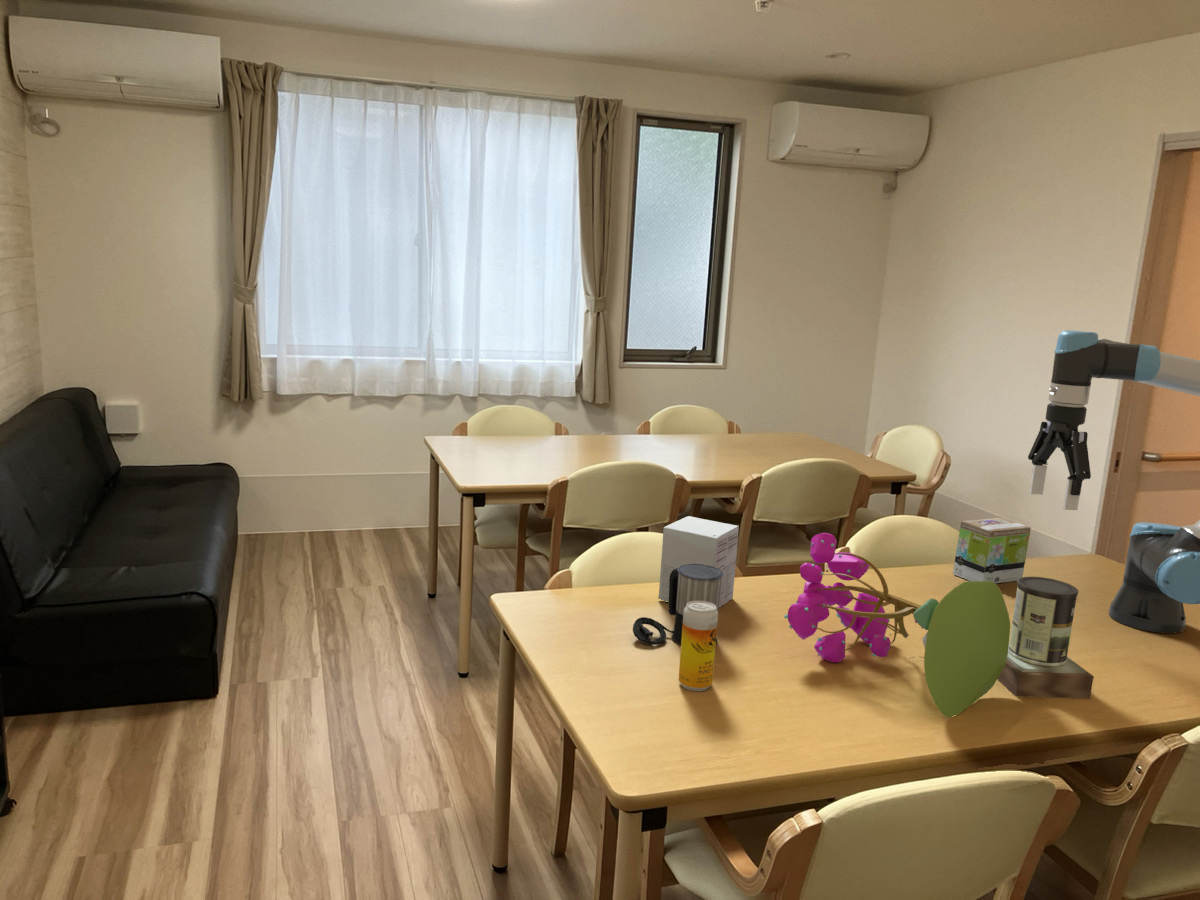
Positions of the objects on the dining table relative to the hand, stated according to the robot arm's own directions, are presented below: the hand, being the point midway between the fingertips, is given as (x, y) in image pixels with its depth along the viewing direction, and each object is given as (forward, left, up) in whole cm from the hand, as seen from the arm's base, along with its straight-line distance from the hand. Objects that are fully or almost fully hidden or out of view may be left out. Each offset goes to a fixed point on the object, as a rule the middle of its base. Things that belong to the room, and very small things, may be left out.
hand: (1052, 501), depth 196 cm
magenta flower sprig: (+43, +24, -29) cm, 57 cm away
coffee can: (+15, +28, -24) cm, 40 cm away
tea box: (-6, -34, -29) cm, 45 cm away
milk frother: (+82, +14, -29) cm, 88 cm away
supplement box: (+74, -10, -29) cm, 80 cm away
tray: (+15, +28, -29) cm, 43 cm away
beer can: (+81, +34, -29) cm, 92 cm away
